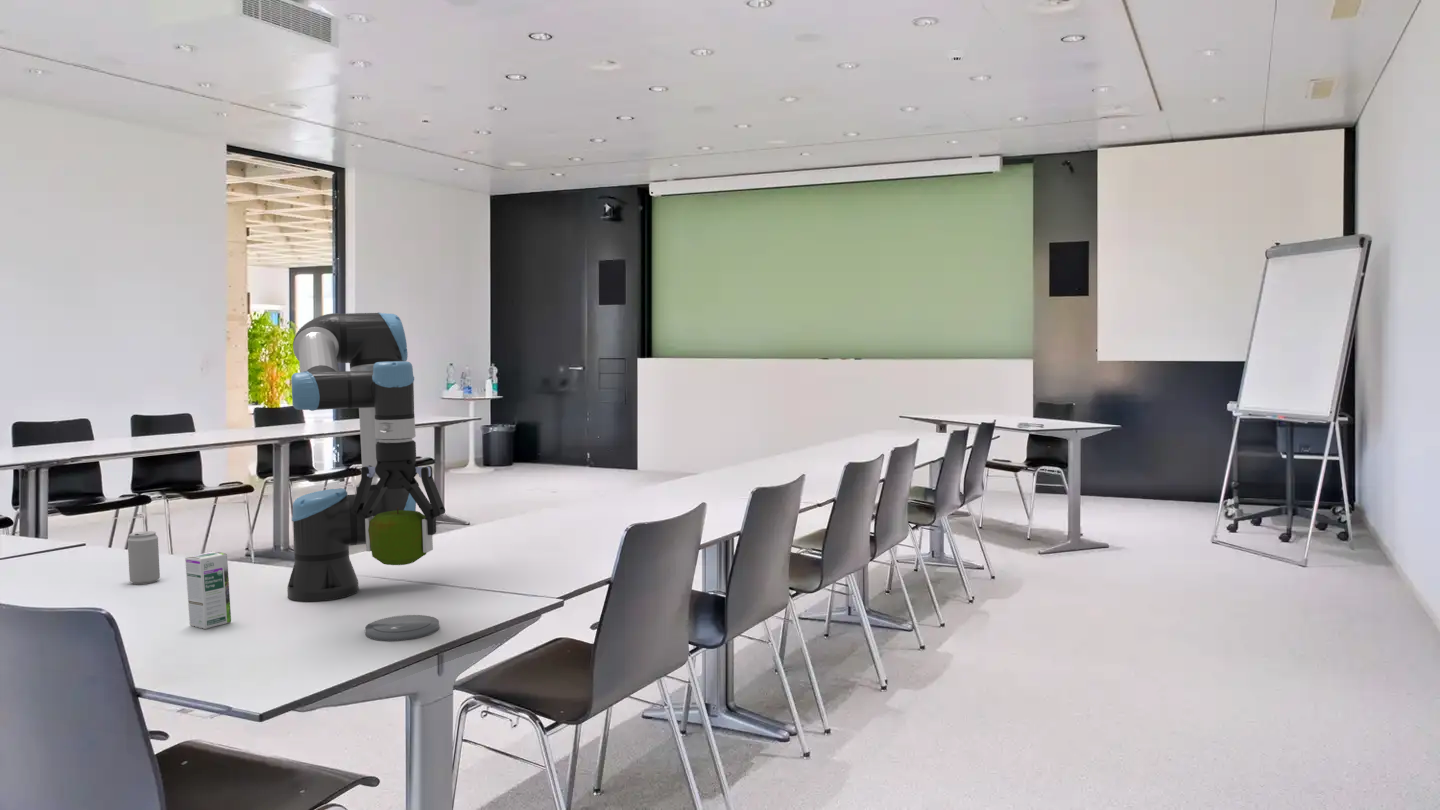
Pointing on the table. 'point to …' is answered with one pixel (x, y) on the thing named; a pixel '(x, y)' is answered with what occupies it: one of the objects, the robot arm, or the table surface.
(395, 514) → the apple
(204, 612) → the syrup box
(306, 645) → the table surface
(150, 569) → the beverage can
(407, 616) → the slate plate
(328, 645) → the table surface
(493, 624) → the table surface
